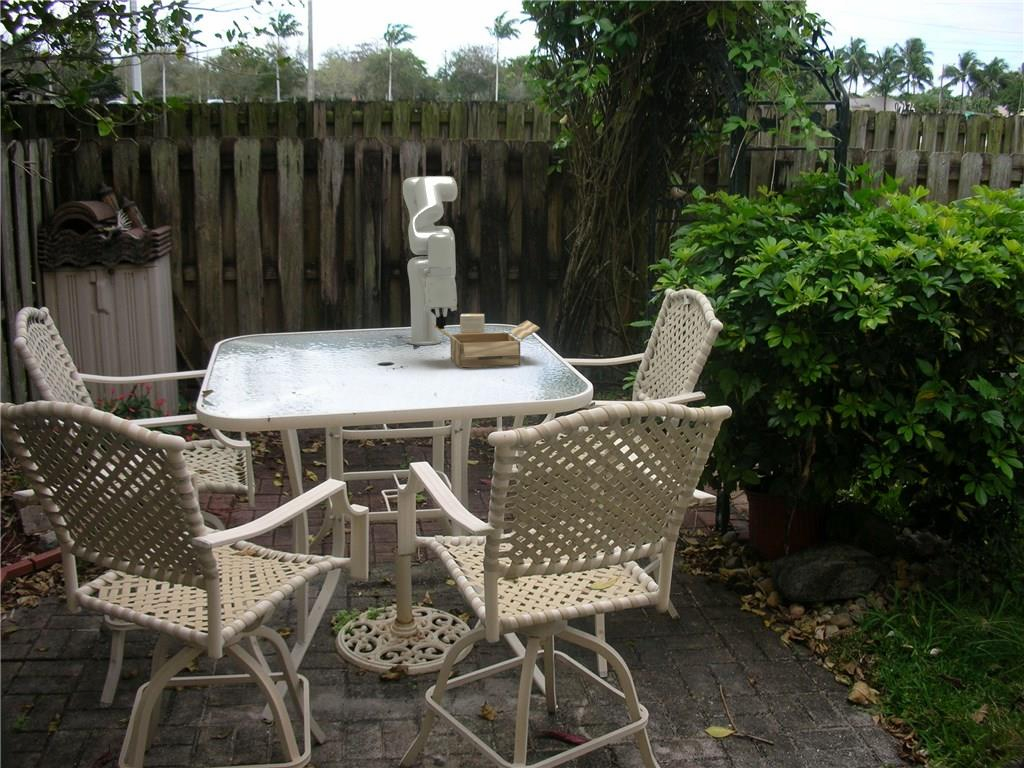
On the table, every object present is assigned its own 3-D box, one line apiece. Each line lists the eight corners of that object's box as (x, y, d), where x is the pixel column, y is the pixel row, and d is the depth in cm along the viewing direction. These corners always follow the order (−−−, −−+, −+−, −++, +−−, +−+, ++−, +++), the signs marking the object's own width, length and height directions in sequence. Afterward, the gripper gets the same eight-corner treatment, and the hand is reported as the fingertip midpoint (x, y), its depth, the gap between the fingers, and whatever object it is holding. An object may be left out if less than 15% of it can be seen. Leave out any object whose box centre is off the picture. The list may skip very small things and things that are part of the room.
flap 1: (449, 334, 325) (431, 323, 323) (449, 333, 325) (431, 322, 323) (457, 342, 310) (439, 331, 308) (458, 341, 310) (439, 330, 308)
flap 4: (509, 331, 330) (527, 320, 331) (510, 332, 330) (527, 321, 331) (521, 339, 315) (539, 327, 316) (521, 340, 315) (540, 328, 316)
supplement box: (485, 350, 343) (485, 313, 340) (483, 352, 338) (483, 315, 335) (462, 349, 344) (461, 313, 341) (460, 352, 339) (459, 315, 336)
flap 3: (463, 343, 309) (464, 357, 308) (517, 340, 314) (519, 354, 312) (463, 343, 310) (464, 357, 308) (517, 341, 314) (519, 355, 313)
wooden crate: (450, 358, 328) (450, 335, 326) (507, 355, 332) (508, 333, 331) (460, 368, 311) (459, 343, 310) (520, 365, 316) (520, 341, 314)
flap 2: (453, 334, 326) (452, 345, 330) (505, 332, 331) (503, 343, 334) (453, 333, 327) (451, 344, 330) (504, 331, 331) (503, 342, 334)
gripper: (418, 274, 306) (420, 331, 310) (465, 272, 310) (465, 329, 314) (415, 271, 314) (416, 327, 317) (460, 270, 317) (461, 326, 321)
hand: (440, 328), depth 316 cm, fingers closed
